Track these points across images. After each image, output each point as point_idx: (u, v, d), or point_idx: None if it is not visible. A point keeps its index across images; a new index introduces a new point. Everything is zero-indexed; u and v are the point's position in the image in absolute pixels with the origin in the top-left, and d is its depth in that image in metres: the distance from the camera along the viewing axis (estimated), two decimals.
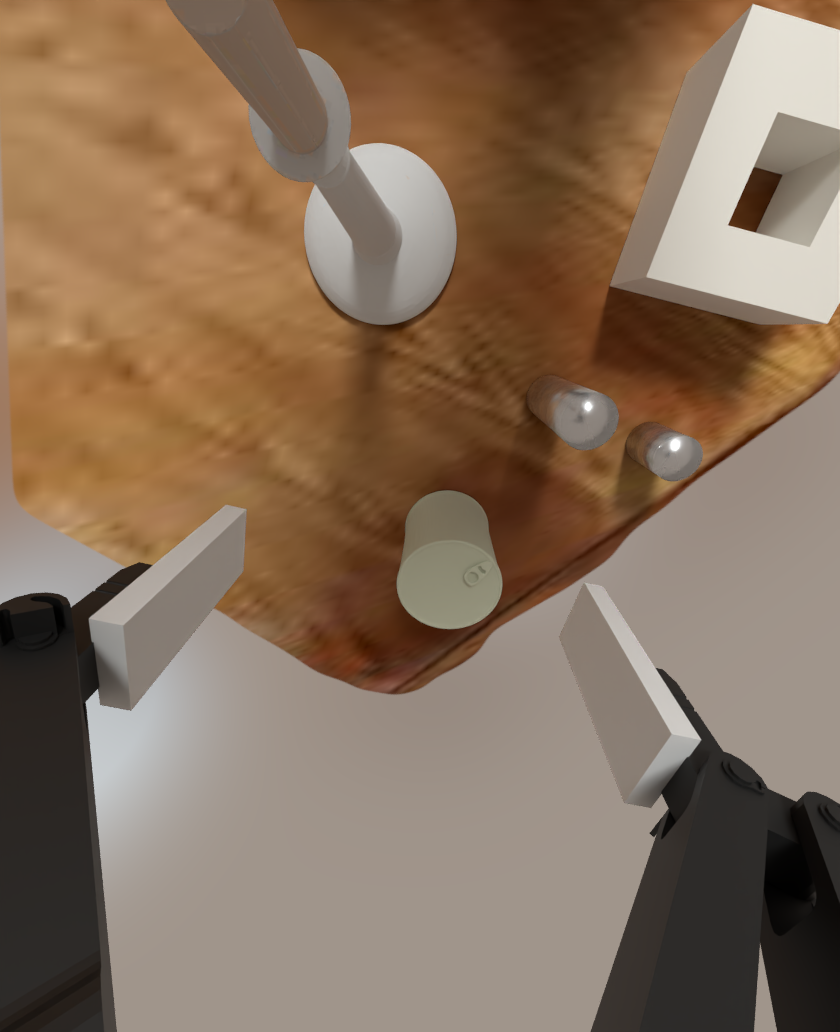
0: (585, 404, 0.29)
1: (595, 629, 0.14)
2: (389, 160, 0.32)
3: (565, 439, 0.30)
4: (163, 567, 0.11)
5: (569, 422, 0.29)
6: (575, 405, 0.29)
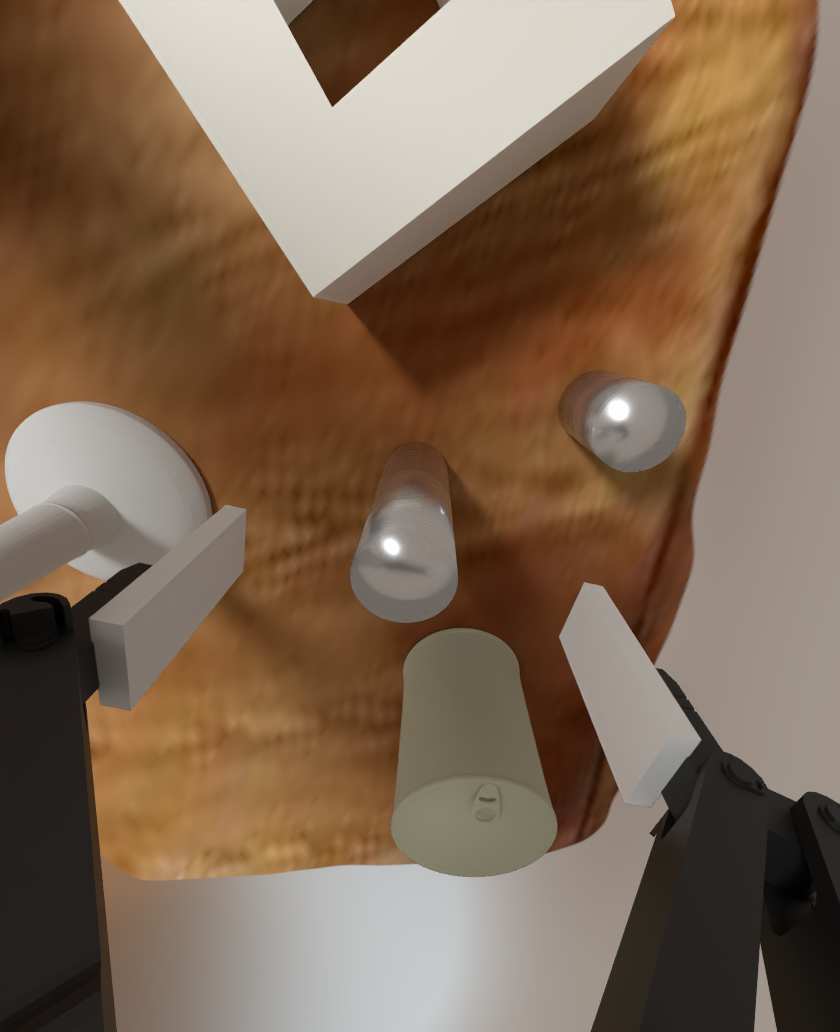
0: (372, 566, 0.15)
1: (595, 629, 0.14)
2: (27, 443, 0.24)
3: (400, 620, 0.16)
4: (163, 567, 0.11)
5: (380, 600, 0.16)
6: (362, 578, 0.15)
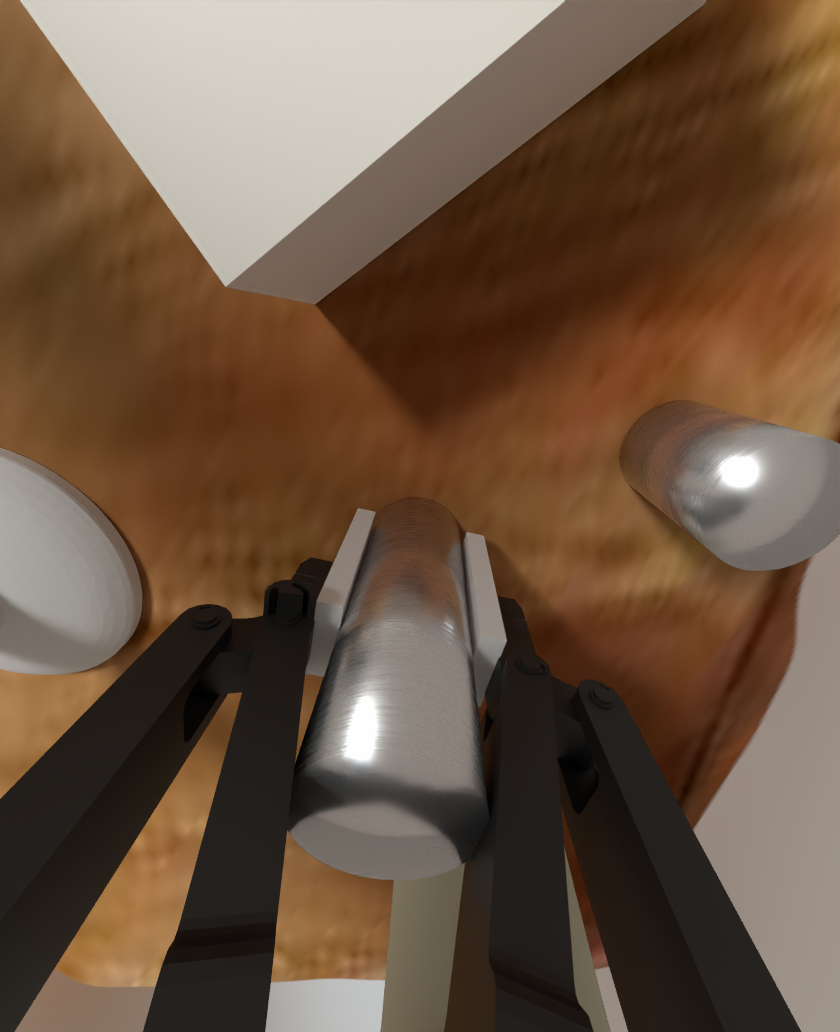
0: (323, 801, 0.08)
1: (465, 568, 0.16)
2: None
3: (381, 877, 0.09)
4: (343, 561, 0.13)
5: (341, 849, 0.08)
6: (306, 818, 0.08)
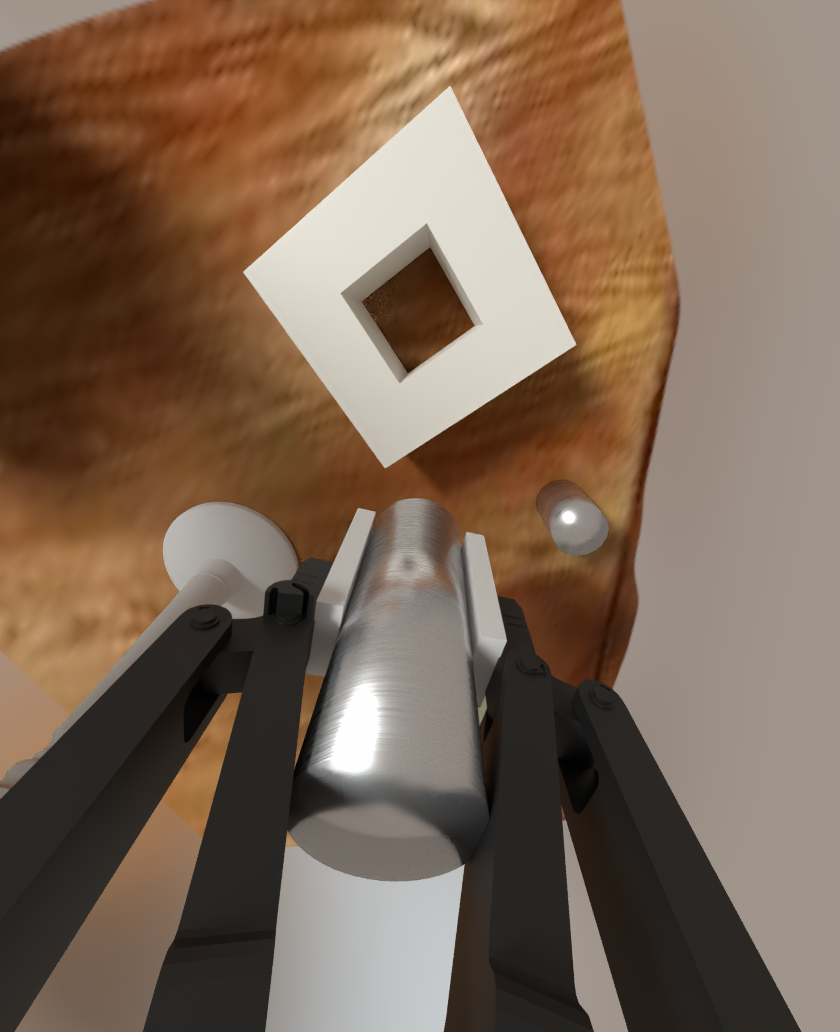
0: (324, 803, 0.08)
1: (465, 568, 0.16)
2: (184, 530, 0.37)
3: (381, 878, 0.09)
4: (343, 561, 0.13)
5: (342, 851, 0.08)
6: (306, 819, 0.08)
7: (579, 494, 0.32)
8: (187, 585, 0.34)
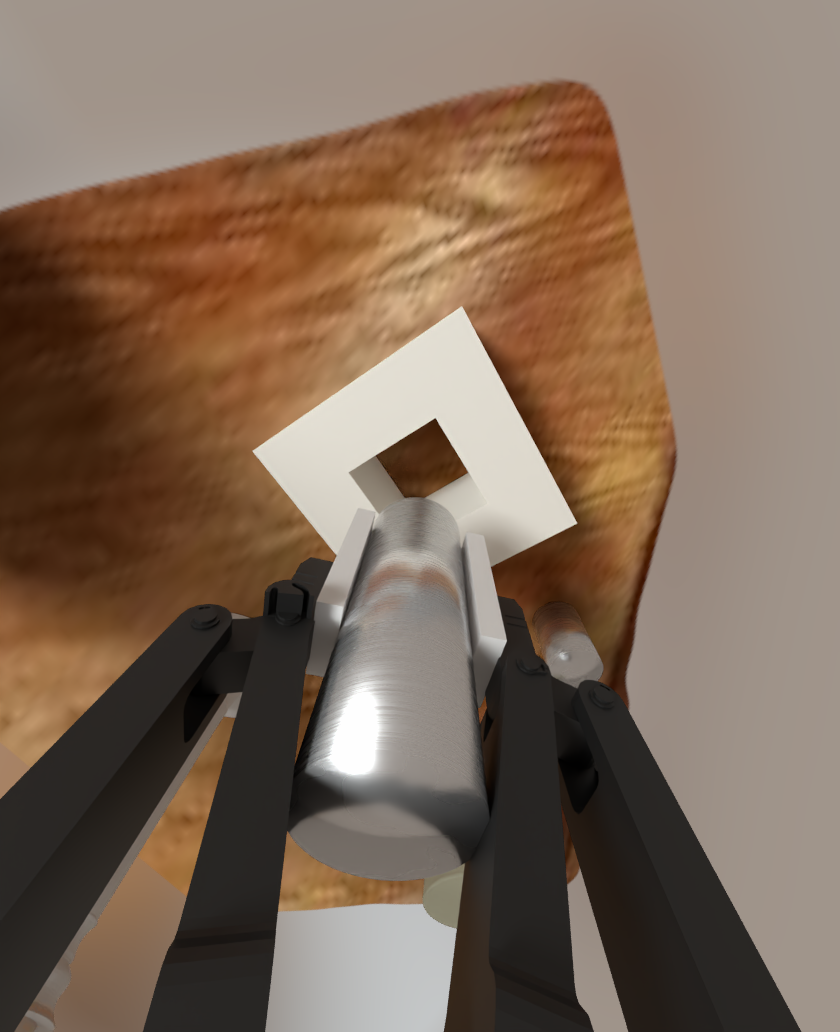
0: (323, 802, 0.08)
1: (465, 569, 0.16)
2: None
3: (381, 877, 0.09)
4: (343, 561, 0.13)
5: (341, 850, 0.08)
6: (305, 819, 0.08)
7: (575, 628, 0.33)
8: None
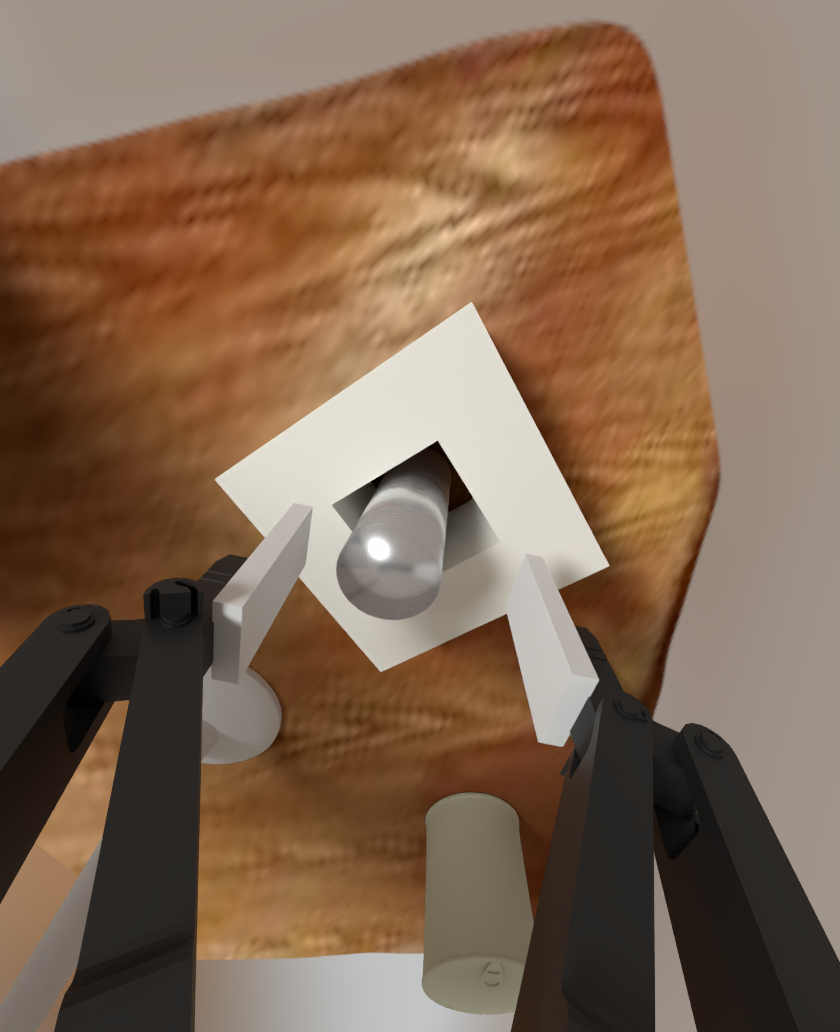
0: (357, 562, 0.16)
1: (530, 594, 0.15)
2: None
3: (385, 617, 0.16)
4: (259, 558, 0.13)
5: (365, 596, 0.16)
6: (347, 574, 0.16)
7: None
8: None
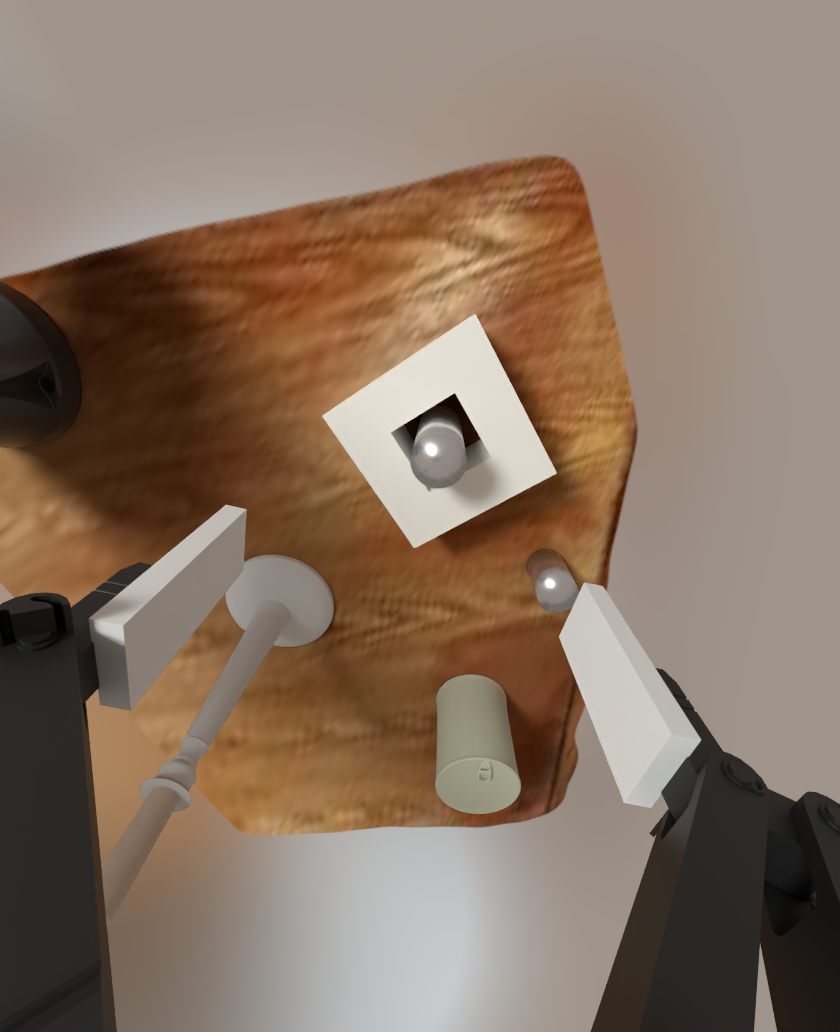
0: (422, 454, 0.29)
1: (595, 629, 0.14)
2: (246, 577, 0.47)
3: (435, 487, 0.30)
4: (163, 567, 0.11)
5: (425, 474, 0.30)
6: (416, 461, 0.29)
7: (558, 565, 0.42)
8: (252, 624, 0.44)
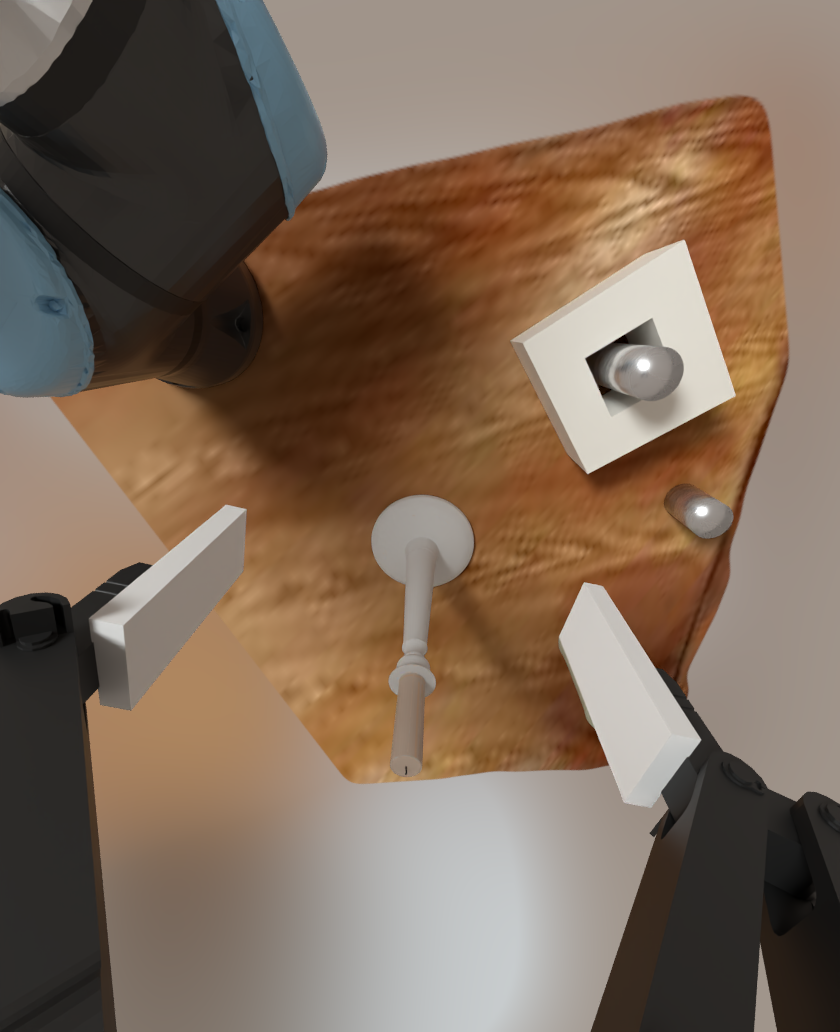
0: (642, 367, 0.32)
1: (595, 629, 0.14)
2: (398, 516, 0.49)
3: (648, 400, 0.33)
4: (163, 567, 0.11)
5: (641, 387, 0.32)
6: (636, 374, 0.32)
7: (707, 494, 0.45)
8: (415, 556, 0.46)
